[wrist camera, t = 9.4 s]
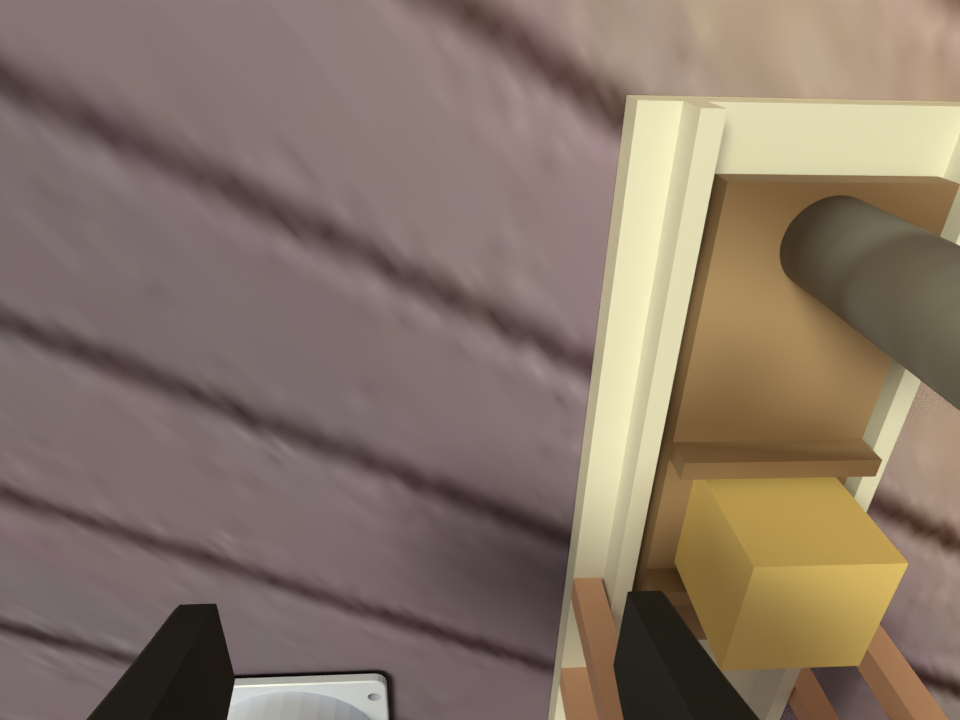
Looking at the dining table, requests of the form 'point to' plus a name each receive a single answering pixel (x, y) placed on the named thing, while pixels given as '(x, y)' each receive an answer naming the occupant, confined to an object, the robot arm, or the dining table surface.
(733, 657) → the block
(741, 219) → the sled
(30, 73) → the dining table surface
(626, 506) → the track
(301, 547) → the dining table surface
